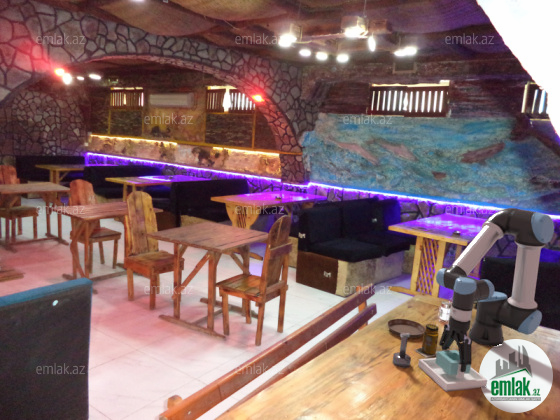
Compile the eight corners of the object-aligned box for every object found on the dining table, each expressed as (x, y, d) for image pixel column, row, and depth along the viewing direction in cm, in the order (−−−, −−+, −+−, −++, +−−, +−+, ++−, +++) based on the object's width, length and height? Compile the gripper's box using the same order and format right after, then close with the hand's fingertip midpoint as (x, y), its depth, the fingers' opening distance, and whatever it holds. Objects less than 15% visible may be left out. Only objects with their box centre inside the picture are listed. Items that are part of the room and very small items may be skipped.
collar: (454, 361, 180) (456, 349, 179) (469, 373, 172) (471, 361, 171) (435, 363, 177) (437, 351, 176) (449, 375, 169) (451, 363, 168)
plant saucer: (381, 332, 210) (382, 326, 209) (393, 320, 225) (393, 315, 224) (419, 344, 201) (420, 338, 200) (428, 331, 216) (429, 325, 215)
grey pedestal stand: (404, 358, 186) (408, 329, 184) (413, 367, 180) (417, 337, 177) (389, 359, 184) (393, 330, 182) (398, 368, 178) (402, 338, 175)
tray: (455, 362, 186) (456, 356, 186) (486, 387, 169) (487, 379, 169) (418, 366, 181) (419, 359, 180) (445, 391, 164) (447, 384, 163)
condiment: (440, 354, 193) (444, 328, 191) (427, 358, 188) (431, 331, 186) (426, 346, 199) (430, 321, 197) (413, 350, 194) (417, 324, 192)
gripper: (434, 307, 180) (427, 358, 184) (471, 331, 159) (462, 388, 163) (450, 306, 182) (442, 357, 186) (488, 329, 162) (478, 386, 166)
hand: (451, 371), depth 175 cm, fingers closed on collar, 9 cm apart
